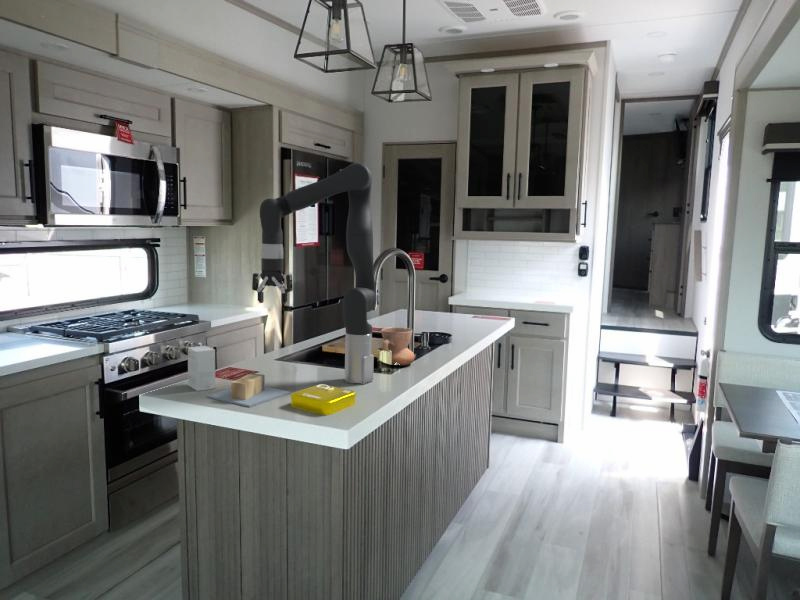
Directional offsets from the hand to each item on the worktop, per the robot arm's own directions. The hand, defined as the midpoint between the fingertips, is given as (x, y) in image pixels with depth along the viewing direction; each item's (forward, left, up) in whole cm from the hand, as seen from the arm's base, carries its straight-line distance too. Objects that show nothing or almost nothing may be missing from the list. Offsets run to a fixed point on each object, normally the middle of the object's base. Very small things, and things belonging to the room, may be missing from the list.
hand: (272, 303), depth 207 cm
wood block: (-11, +28, -23) cm, 38 cm away
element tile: (-35, +16, -27) cm, 47 cm away
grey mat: (-10, +21, -26) cm, 35 cm away
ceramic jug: (-26, -44, -27) cm, 57 cm away
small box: (+9, +23, -27) cm, 37 cm away
